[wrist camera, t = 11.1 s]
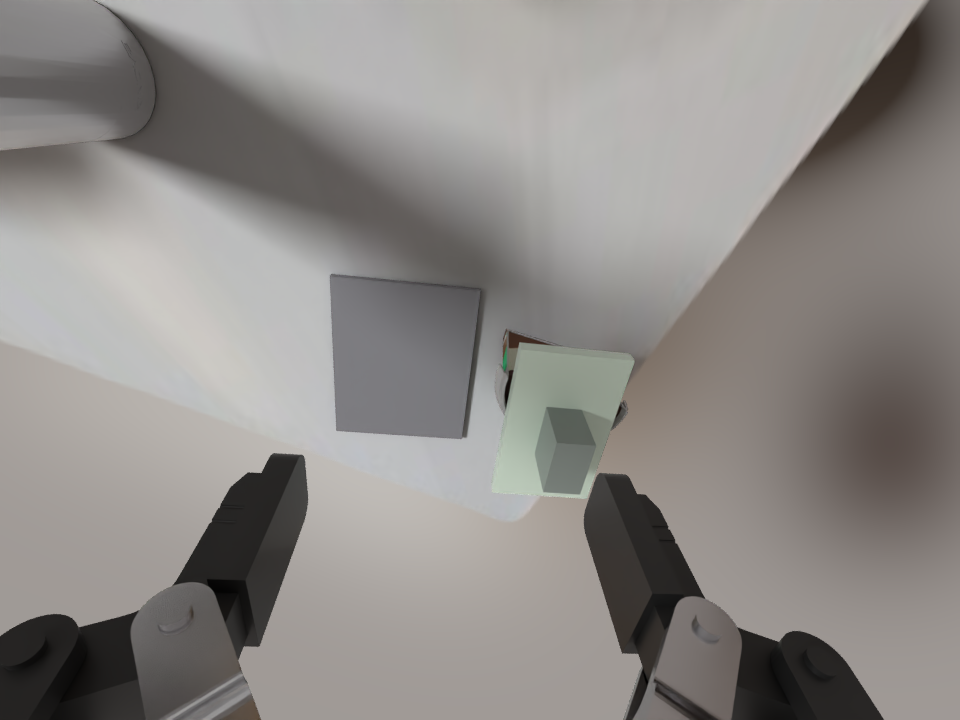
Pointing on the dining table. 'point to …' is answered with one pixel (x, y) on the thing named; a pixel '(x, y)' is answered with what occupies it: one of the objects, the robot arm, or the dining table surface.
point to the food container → (509, 360)
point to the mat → (402, 355)
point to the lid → (558, 419)
